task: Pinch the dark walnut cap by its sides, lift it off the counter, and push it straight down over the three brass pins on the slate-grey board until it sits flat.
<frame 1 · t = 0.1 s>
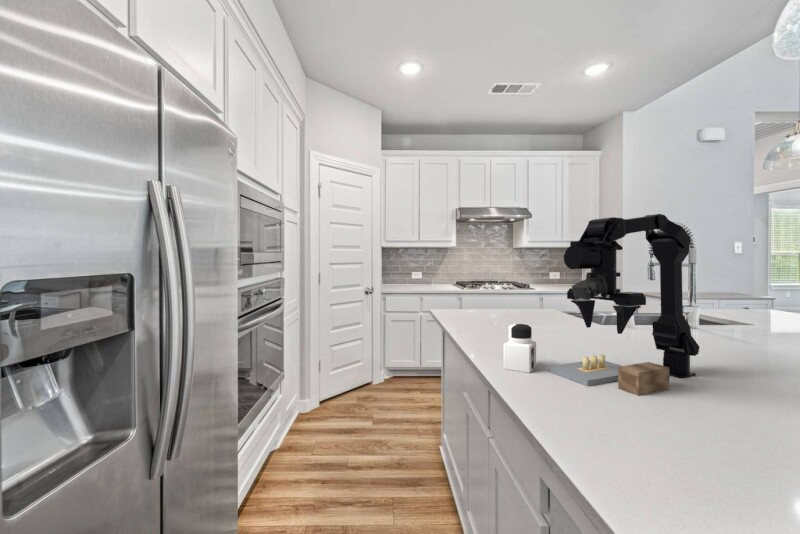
hand: (603, 330, 98), 14 cm above the worktop, fingers open, 9 cm apart
pin board: (593, 374, 109), on the worktop
container: (519, 368, 116), on the worktop
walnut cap: (643, 389, 97), on the worktop
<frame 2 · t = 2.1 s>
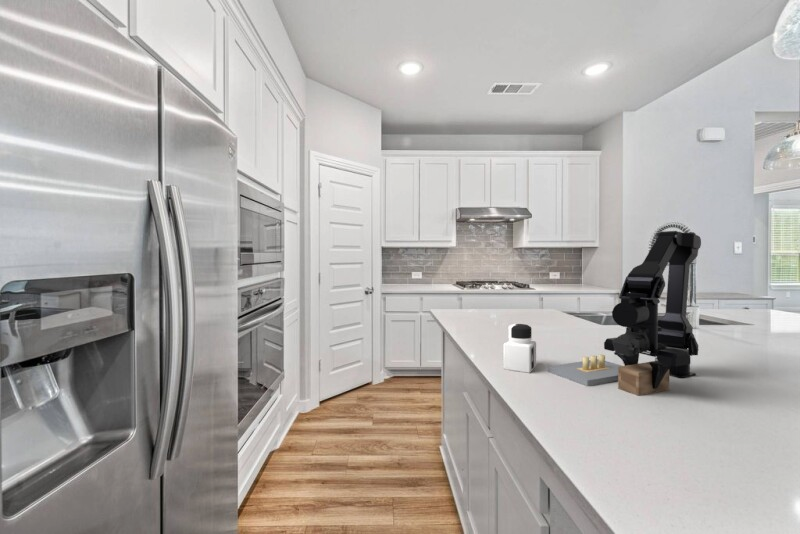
hand: (643, 384, 97), 1 cm above the worktop, fingers closed on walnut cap, 5 cm apart
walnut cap: (643, 389, 97), on the worktop, touching gripper
everything else where it was.
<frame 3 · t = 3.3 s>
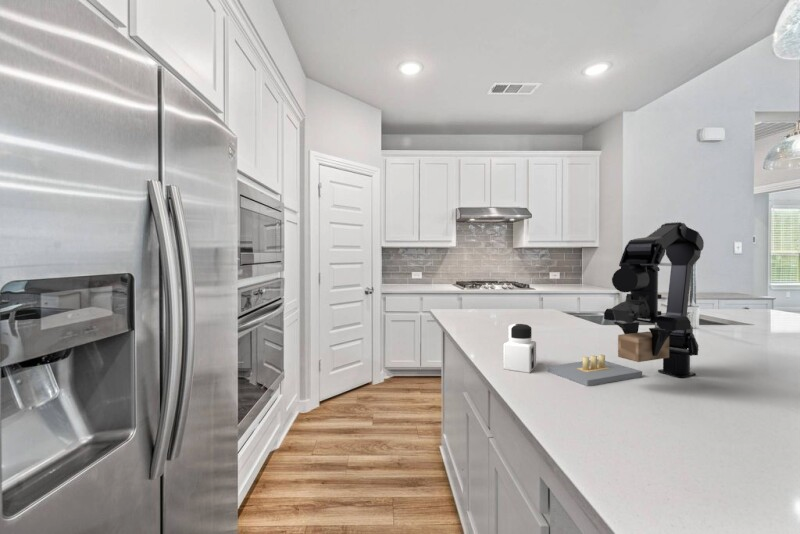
hand: (643, 352, 96), 9 cm above the worktop, fingers closed on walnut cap, 5 cm apart
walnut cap: (643, 357, 96), point 8 cm above the worktop, touching gripper
everything else where it was.
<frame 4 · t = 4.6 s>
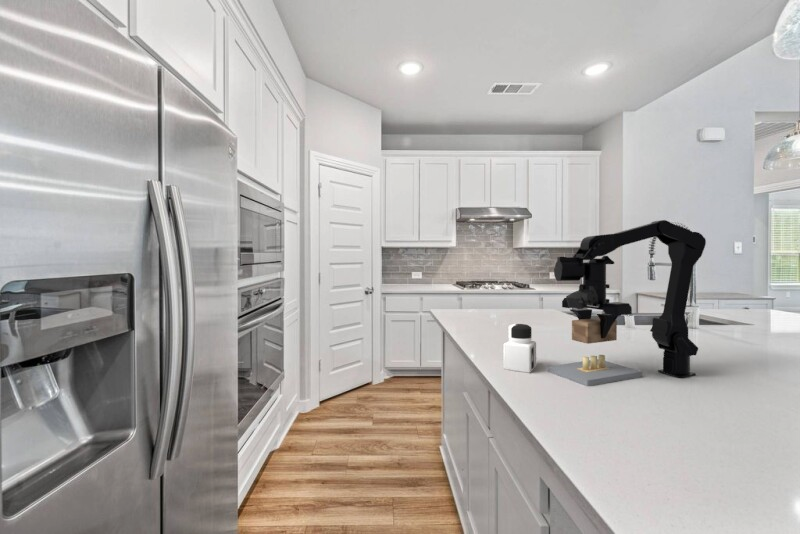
hand: (594, 336, 109), 11 cm above the worktop, fingers closed on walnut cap, 5 cm apart
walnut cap: (594, 339, 109), point 10 cm above the worktop, touching gripper
everything else where it was.
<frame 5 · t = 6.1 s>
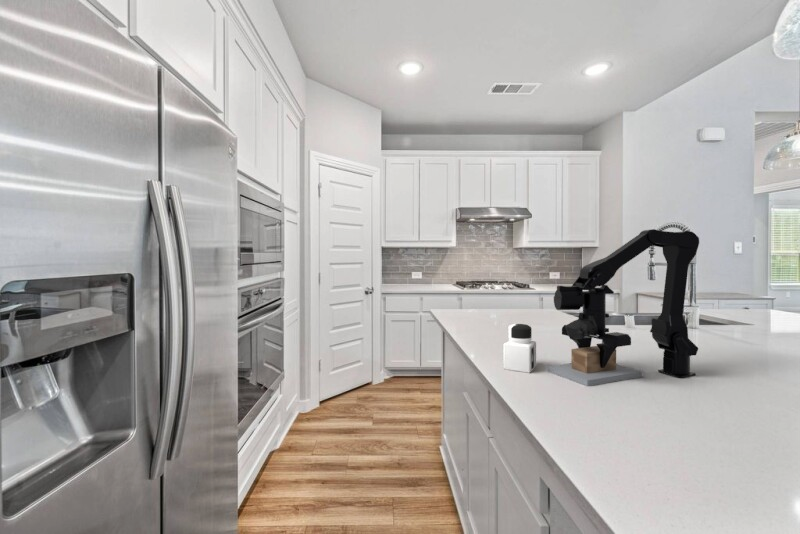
hand: (593, 365, 109), 3 cm above the worktop, fingers closed on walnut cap, 5 cm apart
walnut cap: (593, 368, 109), point 2 cm above the worktop, touching gripper, pin board
everything else where it was.
when the fingers open (3 cm above the worktop, at t = 7.1 s): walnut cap stays where it is, resting on pin board.
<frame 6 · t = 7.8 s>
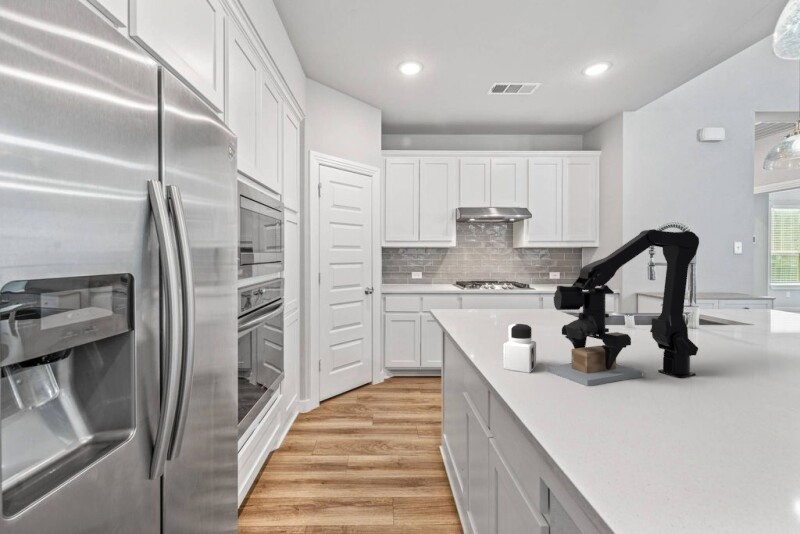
hand: (593, 365, 109), 3 cm above the worktop, fingers open, 9 cm apart
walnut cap: (593, 368, 109), point 1 cm above the worktop, touching pin board
everything else where it was.
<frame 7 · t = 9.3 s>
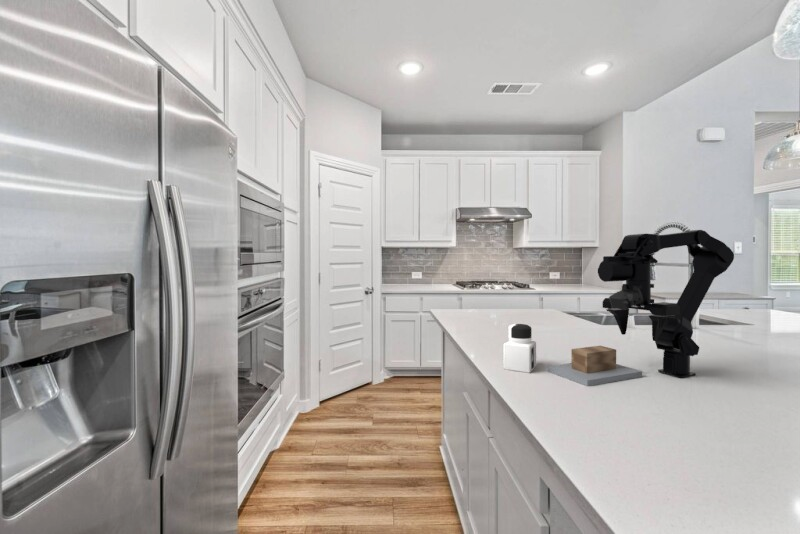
hand: (638, 337, 106), 11 cm above the worktop, fingers open, 9 cm apart
nothing on the worktop moved.
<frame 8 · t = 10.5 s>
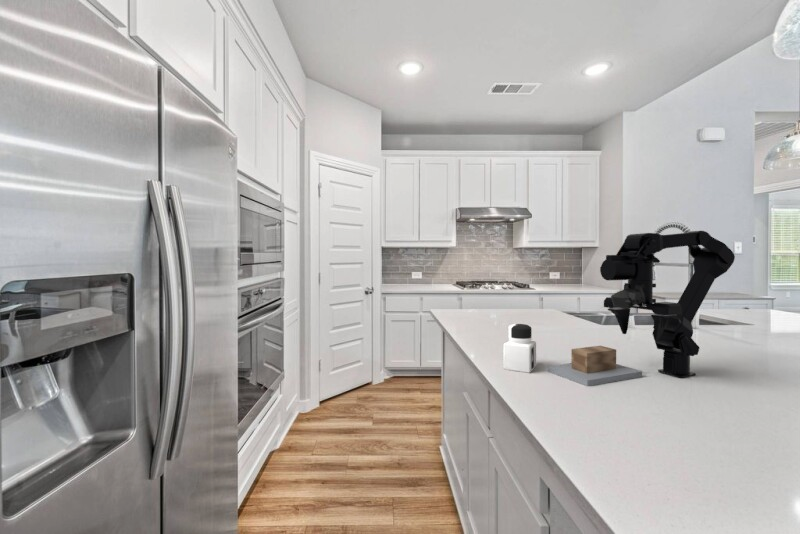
hand: (639, 337, 106), 11 cm above the worktop, fingers open, 9 cm apart
nothing on the worktop moved.
at the end: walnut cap 0.1 cm off-centre on the pin board, point 1.5 cm above the pin board's base; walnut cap tilted 0°; the gripper is holding nothing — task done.
